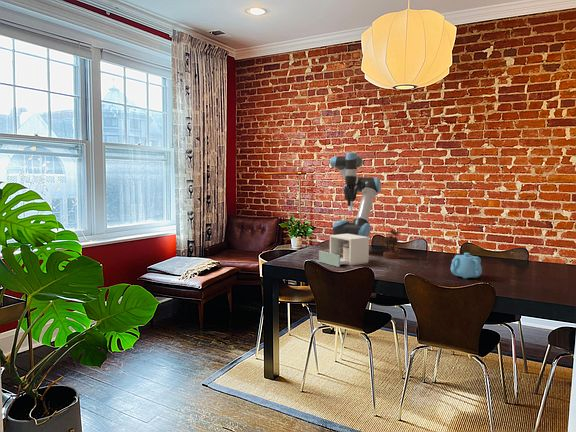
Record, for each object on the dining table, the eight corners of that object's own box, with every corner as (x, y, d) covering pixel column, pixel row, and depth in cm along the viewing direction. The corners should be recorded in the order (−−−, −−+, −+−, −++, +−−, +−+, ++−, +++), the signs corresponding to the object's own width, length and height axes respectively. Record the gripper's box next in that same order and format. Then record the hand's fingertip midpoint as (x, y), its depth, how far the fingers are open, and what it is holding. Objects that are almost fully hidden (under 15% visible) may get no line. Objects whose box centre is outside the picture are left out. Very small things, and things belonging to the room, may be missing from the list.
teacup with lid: (359, 258, 282) (359, 241, 281) (352, 261, 275) (353, 242, 274) (342, 256, 289) (343, 239, 288) (336, 258, 282) (336, 241, 280)
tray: (318, 261, 281) (318, 250, 280) (345, 257, 294) (346, 247, 294) (338, 266, 265) (338, 255, 264) (366, 262, 279) (366, 251, 278)
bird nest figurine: (403, 257, 297) (403, 229, 293) (396, 261, 288) (396, 232, 285) (383, 254, 306) (383, 227, 303) (376, 258, 298) (375, 230, 295)
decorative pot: (484, 276, 246) (485, 252, 245) (478, 281, 233) (479, 256, 232) (454, 272, 255) (455, 249, 254) (447, 277, 242) (448, 253, 241)
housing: (329, 260, 286) (329, 235, 285) (347, 257, 296) (347, 233, 294) (350, 265, 270) (350, 239, 269) (368, 262, 279) (369, 237, 278)
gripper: (347, 175, 284) (347, 211, 287) (361, 175, 292) (361, 210, 294) (340, 175, 290) (339, 210, 293) (354, 175, 298) (353, 209, 300)
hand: (350, 210), depth 294 cm, fingers closed
